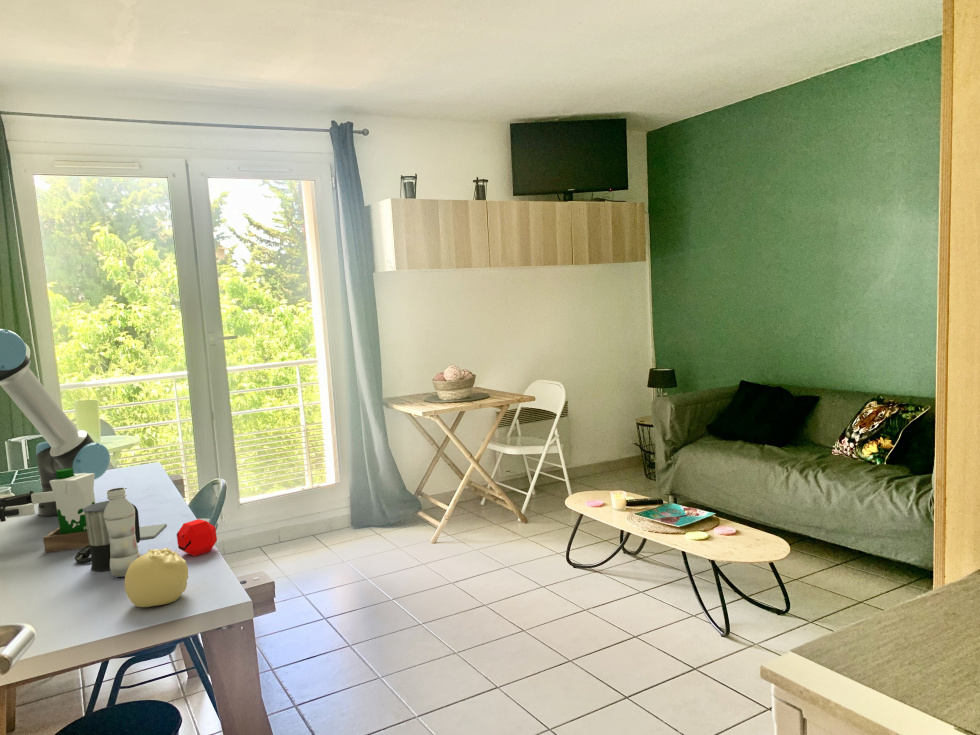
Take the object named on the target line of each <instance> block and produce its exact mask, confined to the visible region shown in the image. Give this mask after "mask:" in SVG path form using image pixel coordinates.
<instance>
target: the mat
mask: <svg viewBox="0 0 980 735" xmlns="http://www.w3.org/2000/svg"><path fill="white" fill-rule="evenodd" d="M167 525H168V524H167V523H162V524H154V525H153V524H151V525H145V526H139V529H140V541H141V540H147V539H155V538H156V537H157V536H158V535H160V533H161V532H162V531H163V530H164V529H165V528H166V527H167Z"/></svg>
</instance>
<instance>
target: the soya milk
mask: <svg viewBox="0 0 980 735" xmlns="http://www.w3.org/2000/svg"><path fill="white" fill-rule="evenodd" d="M56 475H57V478H56V479H53V480H51V481H49V482H50V485H51V487H52V490H53V492H54V495H55V500H56V507H57V513H58V515H57V519H58V527H59V528H60V535H61V534H69V533H78V532H86V531H87V525H86V518H85V512H84V511H83V509H84V508H85V507H87V506H89V505H92V504H96V498H95V489H94V487H95V480H94V476H95V473H88V474H87V473H80V474H74V472H73V468H65V469H60V470H57V471H56Z"/></svg>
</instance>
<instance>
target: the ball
mask: <svg viewBox="0 0 980 735" xmlns="http://www.w3.org/2000/svg"><path fill="white" fill-rule="evenodd" d="M176 541H177V545H178V546H177V547H178V549H179V550H181V551H183V553H186V554H187V553H188V554H187V555H191V556H193V557H197V555H198V556H201V555H204V554H206V553H209V552H211V551H212V549H213V547H214V546H215V544H216V543H217V541H218V537H217V529H216V526H215V525H214V524H211V523H210V522H209V521H207V520H205V519H204V520H203V519H200V518H198V519H197V518H196V519H195V520H192V521H188V522H184V523H183V524H182V525H181V527H180V528H179V530H178V532H177V533H176ZM203 553H204V554H203ZM200 554H201V555H200Z"/></svg>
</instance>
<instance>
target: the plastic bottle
mask: <svg viewBox="0 0 980 735" xmlns="http://www.w3.org/2000/svg"><path fill="white" fill-rule="evenodd" d="M106 494H107V495H106V496H107V497H106V498H107V501H109V503H108V504H107V506H106V508H105V510H104V514H103V517H104V521H105V524H106V527H107V531H108V536H109V541H110V570H109V571H110V572H111V574H112V575H113V576H114V577H118V578H120V577H121V578H122V577H125V576H126V572H127V570H128V568H129V566H130V565H131V564H132V563H133V562H134V561H135V560H136V559H137V558H139V557H140V556H141V552H140V551H139V546H138V543H137V542H136V535H135V508H134V506H133V505H134V504H133V503H131V502H130V501H129V500H128V499H127V498H126V497H127V493H126V489H125V487H116V488H111V489H108V490H107V491H106ZM132 504H133V505H132Z"/></svg>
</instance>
